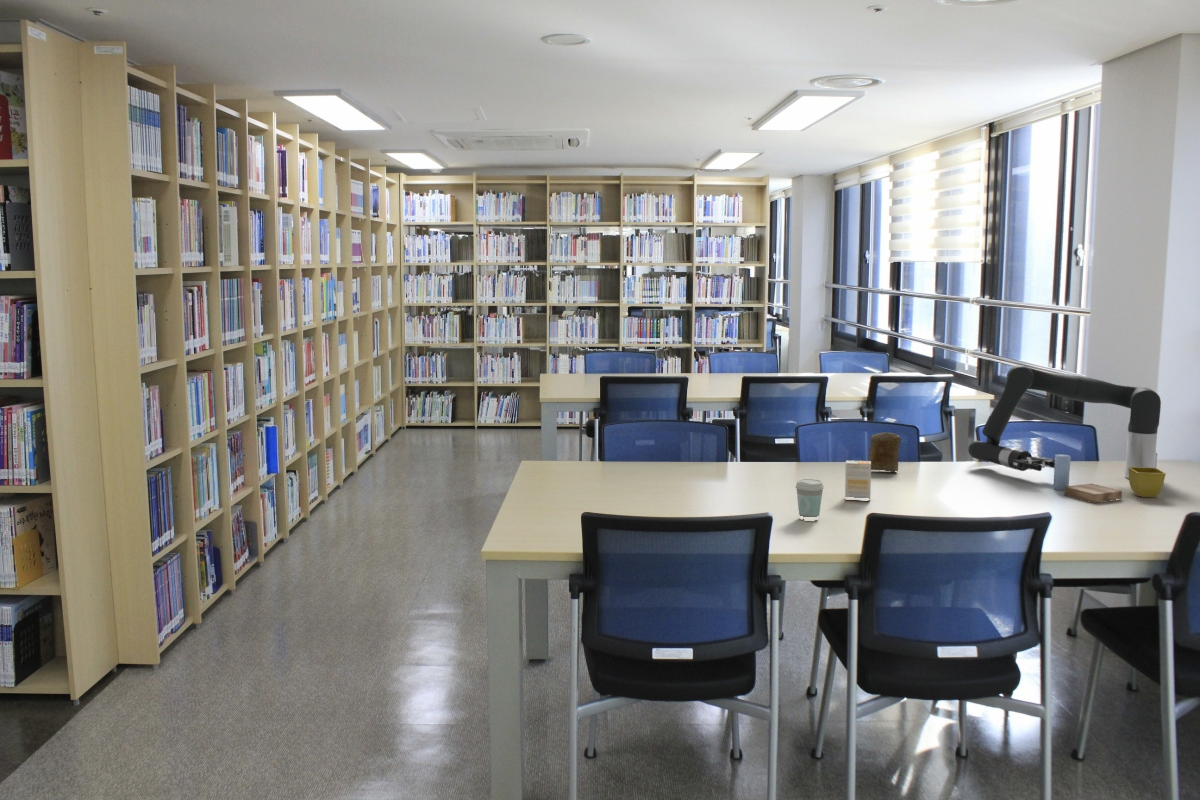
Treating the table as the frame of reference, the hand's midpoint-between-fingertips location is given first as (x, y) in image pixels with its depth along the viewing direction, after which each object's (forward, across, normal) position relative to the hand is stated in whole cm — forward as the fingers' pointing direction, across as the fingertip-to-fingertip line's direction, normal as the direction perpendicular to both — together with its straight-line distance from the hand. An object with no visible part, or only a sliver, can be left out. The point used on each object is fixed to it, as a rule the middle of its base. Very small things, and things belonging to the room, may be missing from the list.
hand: (1050, 467), depth 321 cm
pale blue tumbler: (+5, 0, +7) cm, 9 cm away
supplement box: (-10, -74, +7) cm, 75 cm away
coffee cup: (+6, -103, +7) cm, 103 cm away
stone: (-43, -38, +7) cm, 58 cm away
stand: (+18, 0, +7) cm, 19 cm away
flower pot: (+23, +18, +7) cm, 30 cm away
